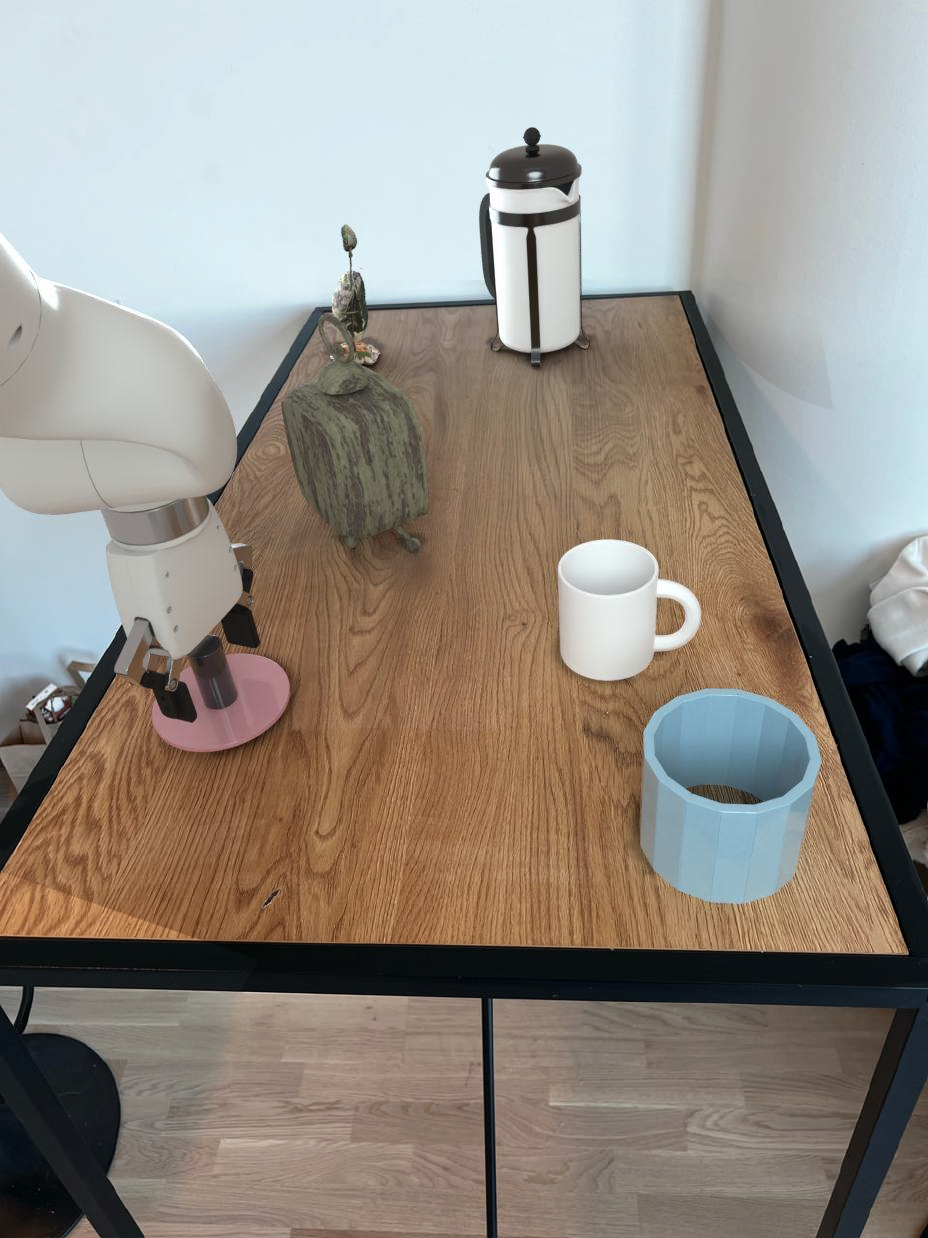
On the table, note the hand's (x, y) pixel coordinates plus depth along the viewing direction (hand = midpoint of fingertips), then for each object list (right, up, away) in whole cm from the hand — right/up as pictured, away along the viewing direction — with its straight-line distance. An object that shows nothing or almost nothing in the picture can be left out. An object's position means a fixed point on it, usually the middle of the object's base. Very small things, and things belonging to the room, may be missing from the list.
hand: (213, 679), depth 80 cm
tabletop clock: (+11, +14, +23) cm, 29 cm away
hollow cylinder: (+40, -11, -13) cm, 43 cm away
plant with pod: (+5, +45, +64) cm, 79 cm away
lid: (0, -2, +2) cm, 3 cm away
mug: (+36, +1, +4) cm, 36 cm away
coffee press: (+32, +46, +61) cm, 83 cm away
